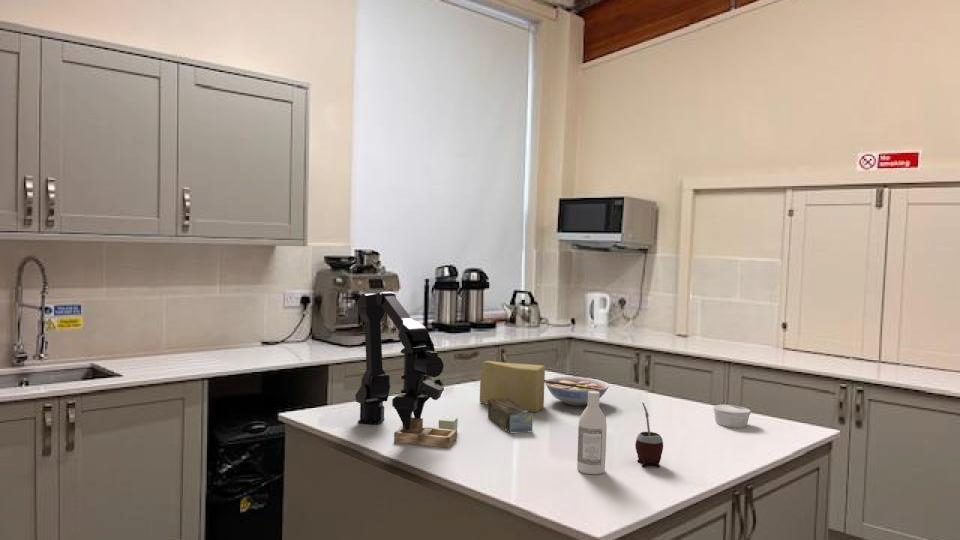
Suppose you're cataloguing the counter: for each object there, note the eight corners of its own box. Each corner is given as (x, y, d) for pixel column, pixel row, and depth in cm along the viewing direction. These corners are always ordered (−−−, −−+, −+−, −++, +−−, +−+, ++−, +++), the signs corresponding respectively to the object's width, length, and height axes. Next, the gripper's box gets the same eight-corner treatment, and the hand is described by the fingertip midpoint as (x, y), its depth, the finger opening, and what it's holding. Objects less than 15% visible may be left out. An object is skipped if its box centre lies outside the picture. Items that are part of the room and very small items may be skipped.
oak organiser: (394, 442, 194) (394, 432, 193) (403, 434, 201) (403, 425, 201) (449, 447, 190) (449, 437, 190) (456, 439, 198) (456, 430, 198)
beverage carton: (508, 434, 206) (509, 412, 205) (486, 418, 224) (486, 397, 223) (533, 432, 208) (533, 410, 208) (509, 416, 226) (509, 396, 226)
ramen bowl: (621, 403, 249) (622, 380, 249) (595, 415, 230) (596, 391, 229) (558, 392, 262) (559, 371, 262) (529, 404, 243) (530, 381, 243)
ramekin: (755, 425, 224) (756, 409, 224) (741, 431, 216) (742, 414, 216) (721, 418, 232) (722, 402, 232) (707, 424, 224) (707, 407, 223)
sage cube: (438, 435, 202) (438, 420, 202) (442, 431, 206) (443, 416, 206) (453, 436, 201) (453, 421, 201) (457, 432, 205) (457, 417, 205)
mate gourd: (654, 470, 176) (657, 412, 175) (626, 463, 181) (629, 406, 180) (667, 464, 181) (670, 407, 181) (640, 457, 187) (642, 402, 186)
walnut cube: (402, 436, 195) (402, 420, 195) (407, 432, 199) (407, 416, 199) (417, 438, 194) (417, 422, 194) (422, 433, 198) (422, 418, 198)
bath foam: (586, 464, 179) (589, 387, 179) (609, 470, 175) (612, 392, 174) (571, 470, 174) (574, 391, 173) (595, 477, 170) (598, 396, 169)
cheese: (474, 405, 239) (476, 362, 238) (484, 400, 248) (486, 358, 247) (536, 413, 231) (538, 368, 230) (544, 407, 240) (546, 364, 239)
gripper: (431, 379, 185) (430, 437, 186) (450, 367, 203) (448, 419, 204) (392, 376, 187) (390, 433, 188) (414, 364, 205) (412, 416, 206)
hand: (412, 425), depth 196 cm, fingers open, 9 cm apart
